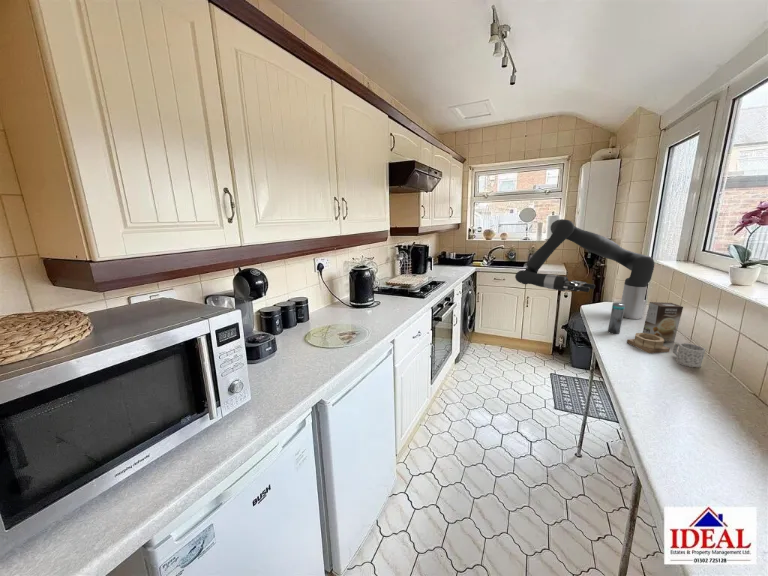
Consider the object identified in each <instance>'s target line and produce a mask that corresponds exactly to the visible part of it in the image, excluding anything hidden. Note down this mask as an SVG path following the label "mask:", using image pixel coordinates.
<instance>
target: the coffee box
mask: <svg viewBox="0 0 768 576" xmlns="http://www.w3.org/2000/svg"><path fill="white" fill-rule="evenodd" d="M683 310H684V306H682V305H680V304H677V303H673V302H658V301H655V302H654V301H649V304H648V309H647V313H646V317H645V321H644V326H643V329H642V333H648V334H653V335H657V336H659V337H661V338H663V339H664V342H671V343H672V342H674V343H675V340H676V337H677V332H678V329H679V325H680V321H681V317H682V313H683Z"/></svg>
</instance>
